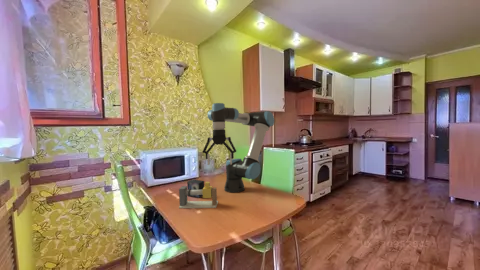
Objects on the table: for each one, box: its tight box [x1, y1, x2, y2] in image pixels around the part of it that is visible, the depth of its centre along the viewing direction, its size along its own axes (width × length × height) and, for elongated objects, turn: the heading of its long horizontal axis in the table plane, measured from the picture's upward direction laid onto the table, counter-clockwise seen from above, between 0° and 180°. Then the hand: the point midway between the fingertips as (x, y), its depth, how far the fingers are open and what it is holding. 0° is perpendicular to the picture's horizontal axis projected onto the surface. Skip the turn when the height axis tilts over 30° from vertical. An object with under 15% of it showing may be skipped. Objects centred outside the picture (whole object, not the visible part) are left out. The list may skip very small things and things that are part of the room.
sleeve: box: [202, 181, 213, 199], centre depth 123 cm, size 5×5×9 cm
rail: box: [178, 185, 219, 209], centre depth 124 cm, size 22×9×11 cm, turn 88°
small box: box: [186, 179, 205, 199], centre depth 141 cm, size 11×6×10 cm, turn 62°
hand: (219, 164), depth 123 cm, fingers open, 13 cm apart
